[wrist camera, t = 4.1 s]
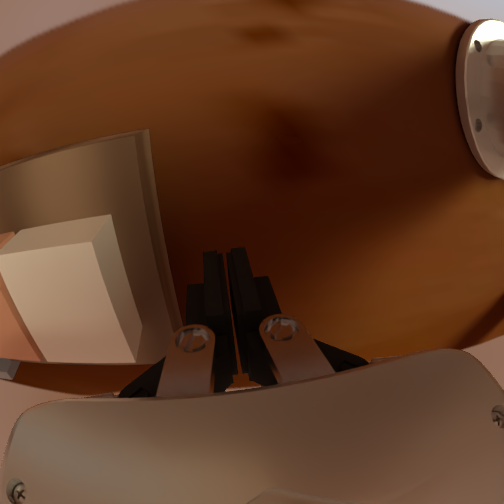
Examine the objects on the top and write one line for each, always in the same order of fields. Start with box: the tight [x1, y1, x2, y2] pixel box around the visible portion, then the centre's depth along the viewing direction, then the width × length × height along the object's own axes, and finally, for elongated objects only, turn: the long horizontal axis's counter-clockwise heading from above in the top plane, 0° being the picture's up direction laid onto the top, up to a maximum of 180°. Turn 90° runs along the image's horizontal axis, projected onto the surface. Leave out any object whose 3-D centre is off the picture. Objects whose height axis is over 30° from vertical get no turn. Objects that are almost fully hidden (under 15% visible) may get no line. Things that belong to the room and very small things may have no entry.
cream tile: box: [0, 214, 143, 363], centre depth 11 cm, size 5×6×2 cm
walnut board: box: [0, 129, 183, 365], centre depth 13 cm, size 13×12×3 cm
